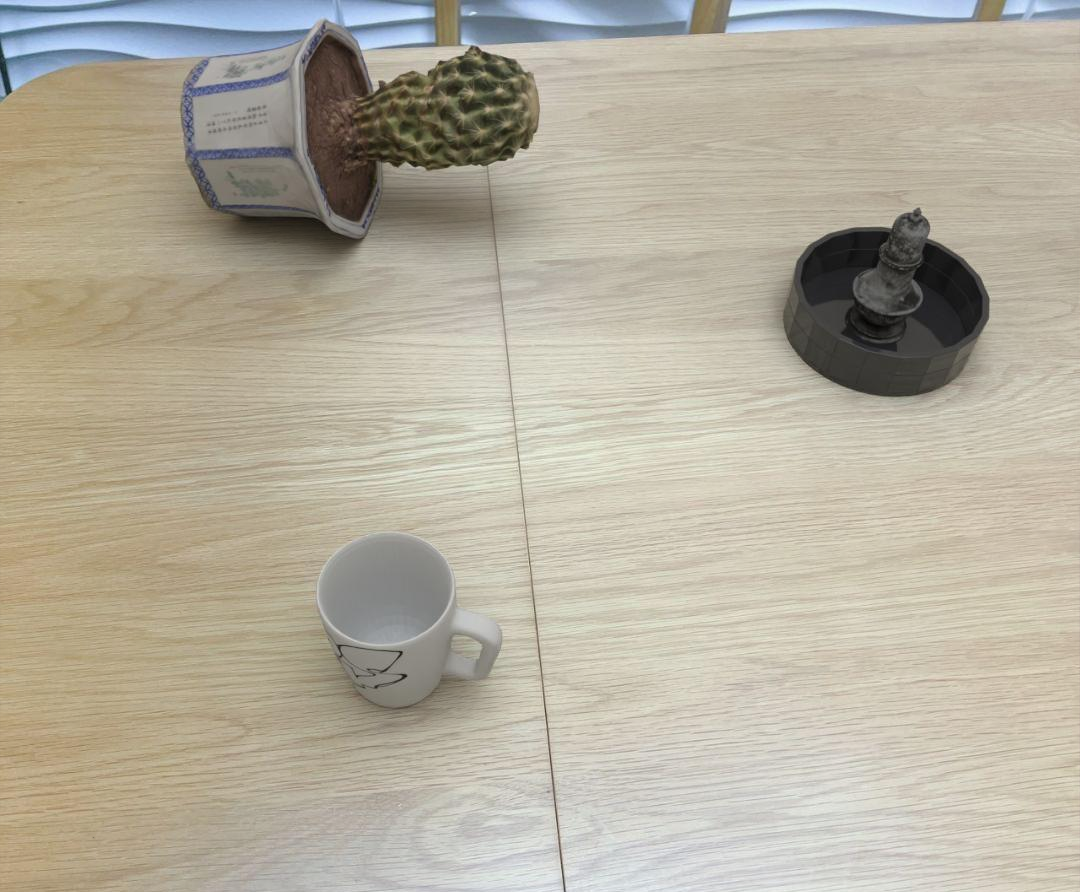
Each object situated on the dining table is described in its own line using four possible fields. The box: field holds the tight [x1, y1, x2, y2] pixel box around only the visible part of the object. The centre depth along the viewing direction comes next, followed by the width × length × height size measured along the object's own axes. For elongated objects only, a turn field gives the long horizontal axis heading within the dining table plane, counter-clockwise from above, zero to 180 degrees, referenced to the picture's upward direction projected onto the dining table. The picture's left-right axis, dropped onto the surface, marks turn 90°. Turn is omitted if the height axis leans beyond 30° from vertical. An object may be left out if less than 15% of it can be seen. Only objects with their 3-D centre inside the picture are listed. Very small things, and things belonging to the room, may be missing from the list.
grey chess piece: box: [845, 207, 931, 344], centre depth 90 cm, size 6×6×12 cm
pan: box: [782, 226, 991, 397], centre depth 93 cm, size 16×16×4 cm
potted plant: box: [179, 17, 541, 240], centre depth 95 cm, size 18×18×30 cm
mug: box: [315, 531, 503, 708], centre depth 70 cm, size 11×8×10 cm
